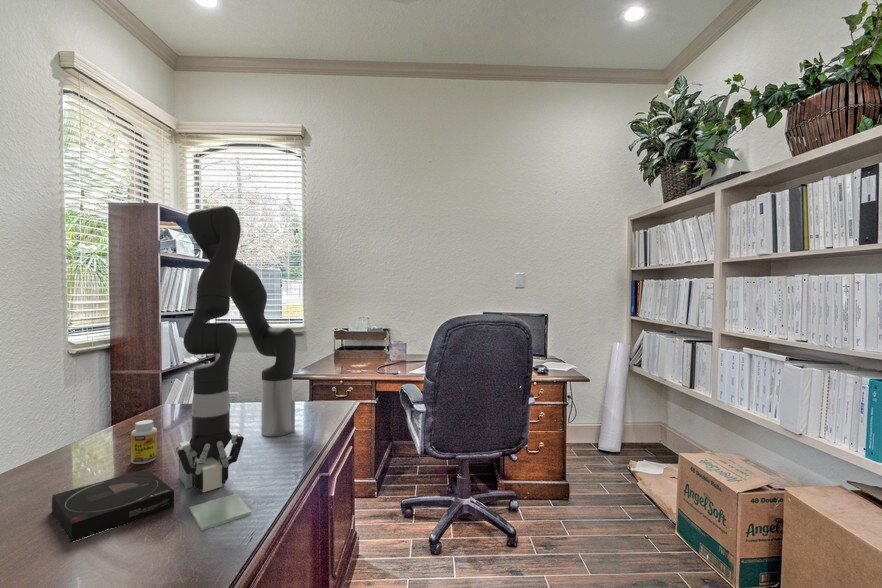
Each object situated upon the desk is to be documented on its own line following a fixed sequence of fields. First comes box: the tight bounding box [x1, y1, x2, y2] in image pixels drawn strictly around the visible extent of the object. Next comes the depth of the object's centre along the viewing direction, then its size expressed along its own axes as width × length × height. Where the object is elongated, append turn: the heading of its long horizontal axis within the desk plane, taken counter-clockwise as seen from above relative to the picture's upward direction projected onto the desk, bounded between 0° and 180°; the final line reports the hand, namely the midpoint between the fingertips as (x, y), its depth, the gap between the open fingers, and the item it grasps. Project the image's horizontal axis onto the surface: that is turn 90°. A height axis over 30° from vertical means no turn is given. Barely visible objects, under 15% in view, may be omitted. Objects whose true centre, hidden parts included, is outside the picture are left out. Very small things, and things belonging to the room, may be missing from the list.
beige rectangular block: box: [192, 456, 223, 493], centre depth 100 cm, size 4×10×5 cm, turn 47°
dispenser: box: [178, 440, 220, 489], centre depth 103 cm, size 8×8×9 cm
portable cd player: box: [51, 468, 175, 543], centre depth 88 cm, size 16×17×4 cm
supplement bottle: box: [130, 419, 158, 465], centre depth 112 cm, size 6×6×10 cm
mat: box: [189, 493, 252, 532], centre depth 87 cm, size 9×10×1 cm
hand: (211, 485), depth 97 cm, fingers closed on beige rectangular block, 4 cm apart
